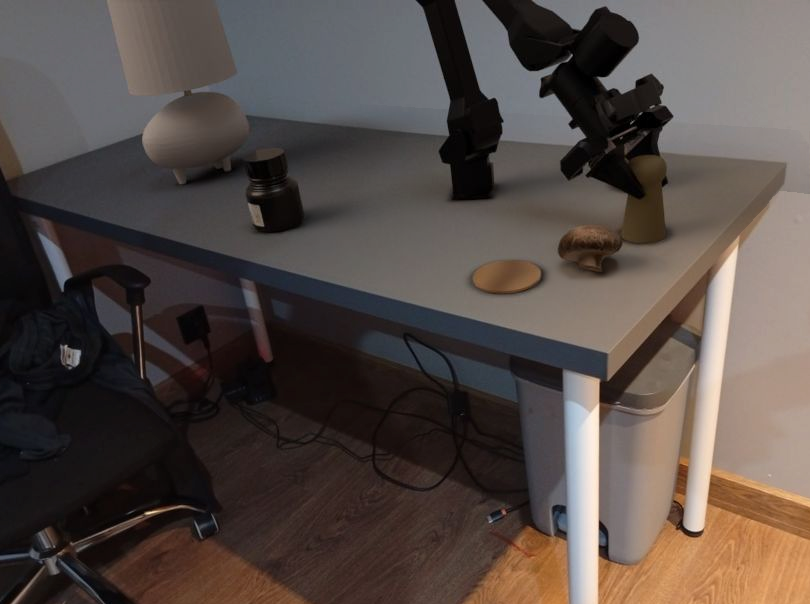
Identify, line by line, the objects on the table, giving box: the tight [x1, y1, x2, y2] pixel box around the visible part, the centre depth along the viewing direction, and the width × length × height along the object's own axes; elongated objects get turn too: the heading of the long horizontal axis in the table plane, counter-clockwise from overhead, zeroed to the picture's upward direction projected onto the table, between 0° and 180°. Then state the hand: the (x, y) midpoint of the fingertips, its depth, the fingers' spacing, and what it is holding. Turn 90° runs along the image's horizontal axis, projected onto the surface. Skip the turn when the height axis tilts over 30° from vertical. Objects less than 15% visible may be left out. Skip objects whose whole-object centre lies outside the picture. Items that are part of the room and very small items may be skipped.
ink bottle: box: [242, 147, 305, 233], centre depth 123 cm, size 10×9×12 cm
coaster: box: [472, 259, 542, 295], centre depth 97 cm, size 9×9×1 cm
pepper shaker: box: [620, 155, 668, 244], centre depth 100 cm, size 6×6×11 cm
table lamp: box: [106, 0, 250, 185], centre depth 146 cm, size 23×22×40 cm
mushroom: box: [557, 224, 623, 273], centre depth 95 cm, size 8×8×6 cm
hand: (654, 191), depth 98 cm, fingers closed on pepper shaker, 5 cm apart
